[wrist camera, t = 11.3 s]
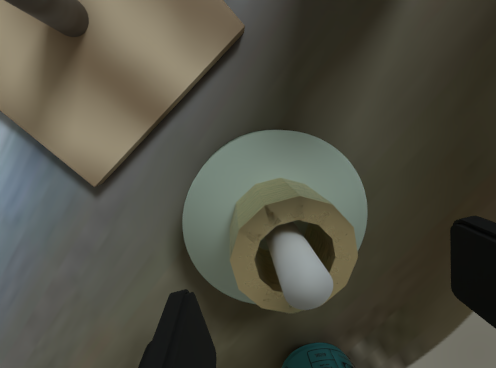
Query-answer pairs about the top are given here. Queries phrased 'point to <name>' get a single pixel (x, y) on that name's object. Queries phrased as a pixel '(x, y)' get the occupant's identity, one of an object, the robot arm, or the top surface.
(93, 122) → the oak stand
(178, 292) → the robot arm
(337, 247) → the brass ring
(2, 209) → the top surface
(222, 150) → the sage hub
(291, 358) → the beverage bottle
